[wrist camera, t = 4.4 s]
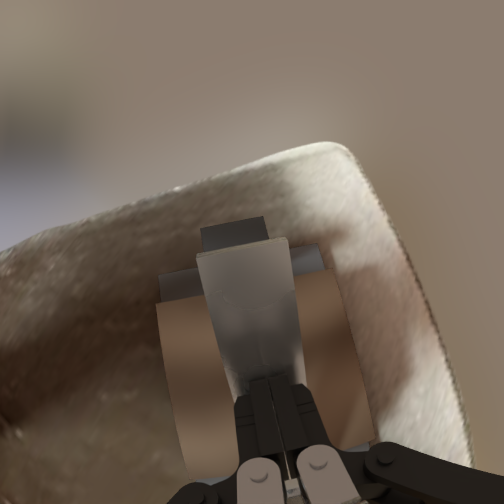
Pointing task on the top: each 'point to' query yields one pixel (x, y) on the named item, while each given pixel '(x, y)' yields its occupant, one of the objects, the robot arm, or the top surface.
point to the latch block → (213, 373)
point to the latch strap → (254, 316)
